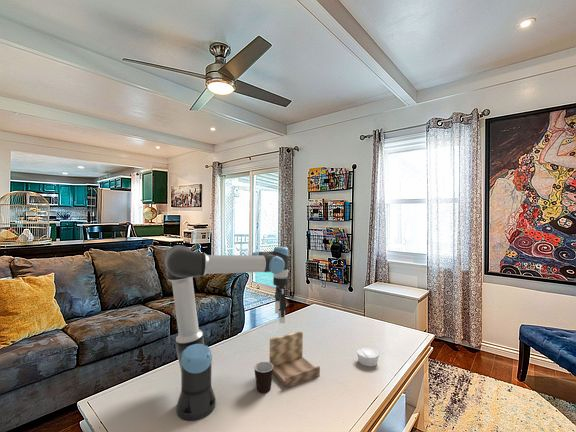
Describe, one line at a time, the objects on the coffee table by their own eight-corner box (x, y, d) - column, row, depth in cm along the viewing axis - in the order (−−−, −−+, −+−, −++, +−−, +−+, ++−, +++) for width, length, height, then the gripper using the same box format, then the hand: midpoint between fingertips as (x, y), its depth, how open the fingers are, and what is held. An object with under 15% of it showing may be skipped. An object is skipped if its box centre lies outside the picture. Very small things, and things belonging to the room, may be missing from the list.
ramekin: (353, 362, 152) (353, 352, 152) (363, 354, 160) (363, 345, 160) (372, 370, 144) (372, 360, 144) (382, 362, 152) (382, 352, 152)
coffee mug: (270, 396, 123) (270, 373, 123) (251, 393, 125) (251, 370, 125) (276, 380, 135) (277, 359, 135) (259, 378, 137) (259, 357, 136)
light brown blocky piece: (286, 388, 129) (286, 353, 129) (269, 370, 143) (269, 338, 143) (319, 375, 139) (320, 343, 139) (300, 360, 153) (301, 330, 153)
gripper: (292, 282, 135) (291, 327, 136) (283, 271, 160) (282, 309, 160) (277, 283, 134) (276, 328, 134) (270, 271, 158) (269, 309, 159)
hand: (279, 317), depth 147 cm, fingers open, 13 cm apart
